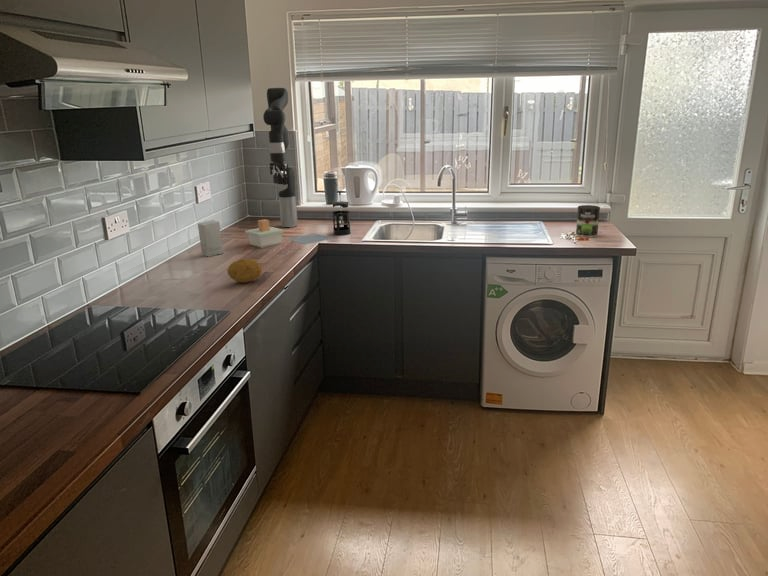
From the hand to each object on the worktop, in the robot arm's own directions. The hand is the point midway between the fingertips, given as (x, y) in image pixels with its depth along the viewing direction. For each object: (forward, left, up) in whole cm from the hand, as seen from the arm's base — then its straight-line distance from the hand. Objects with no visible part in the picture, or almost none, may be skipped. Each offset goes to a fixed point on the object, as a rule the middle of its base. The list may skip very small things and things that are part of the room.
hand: (280, 184), depth 294 cm
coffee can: (+113, +104, -28) cm, 156 cm away
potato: (+58, -54, -28) cm, 84 cm away
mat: (+14, +6, -28) cm, 32 cm away
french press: (+17, +25, -28) cm, 41 cm away
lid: (+6, -15, -22) cm, 27 cm away
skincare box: (+5, -43, -28) cm, 52 cm away
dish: (+6, -15, -28) cm, 32 cm away
